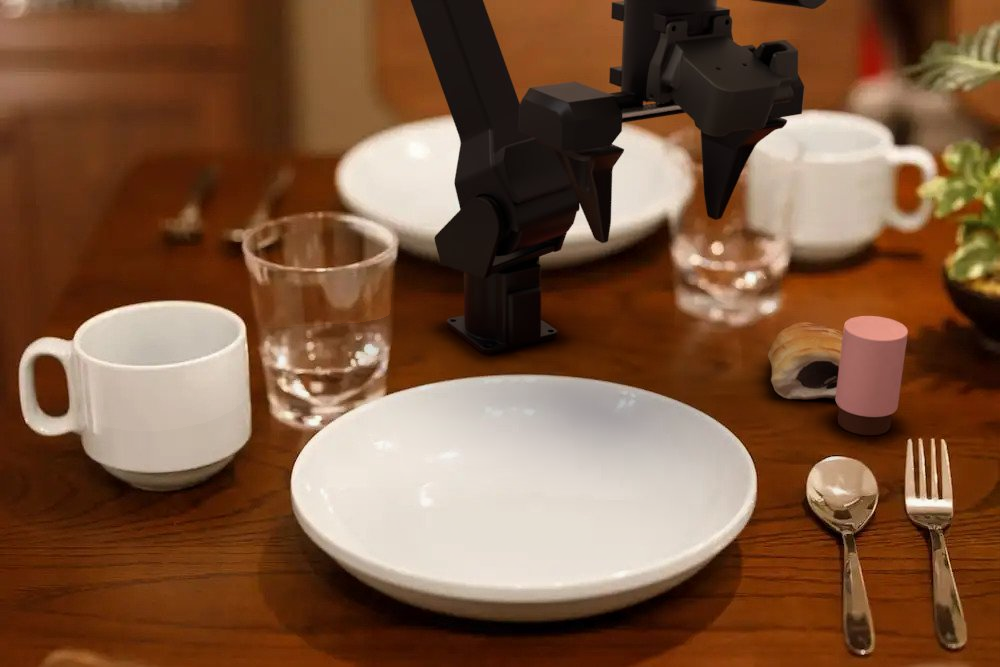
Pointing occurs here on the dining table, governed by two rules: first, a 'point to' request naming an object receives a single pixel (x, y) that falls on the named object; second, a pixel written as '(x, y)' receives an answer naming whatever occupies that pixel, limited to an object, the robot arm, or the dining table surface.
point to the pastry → (806, 361)
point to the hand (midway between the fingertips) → (658, 229)
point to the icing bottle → (870, 373)
